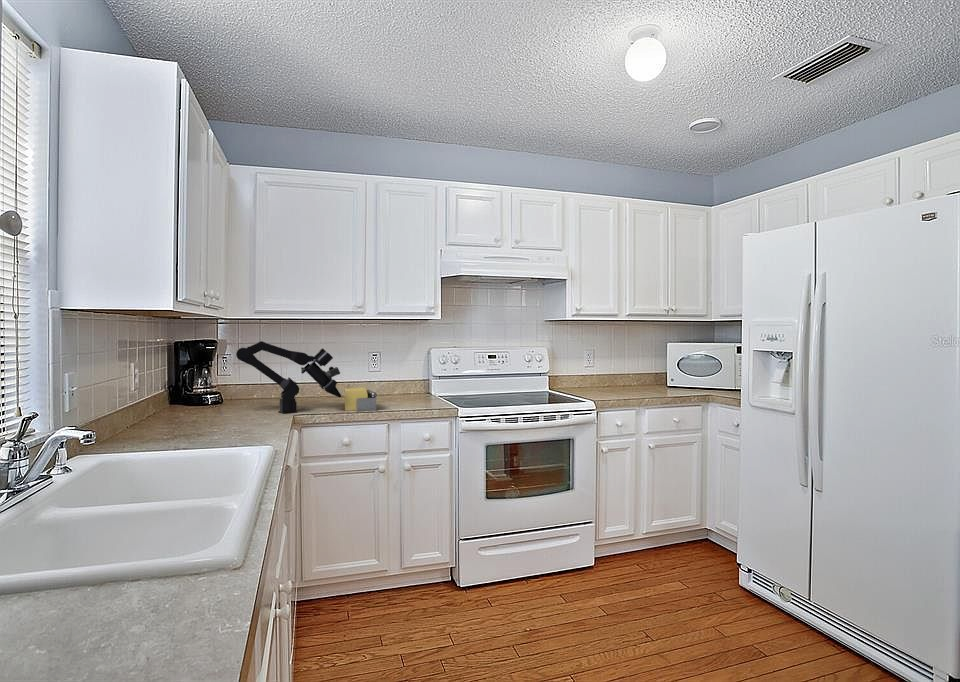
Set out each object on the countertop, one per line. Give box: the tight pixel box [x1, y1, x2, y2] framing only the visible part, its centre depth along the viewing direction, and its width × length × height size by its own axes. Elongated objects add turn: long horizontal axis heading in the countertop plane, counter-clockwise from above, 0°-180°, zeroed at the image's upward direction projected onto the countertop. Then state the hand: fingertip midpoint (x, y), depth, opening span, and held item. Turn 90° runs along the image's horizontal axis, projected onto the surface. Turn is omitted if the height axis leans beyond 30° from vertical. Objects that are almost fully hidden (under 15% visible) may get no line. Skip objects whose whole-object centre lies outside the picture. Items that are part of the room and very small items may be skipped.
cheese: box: [344, 387, 368, 410], centre depth 280 cm, size 10×11×10 cm
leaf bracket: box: [356, 389, 378, 412], centre depth 282 cm, size 10×17×8 cm, turn 23°
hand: (340, 396), depth 278 cm, fingers closed
